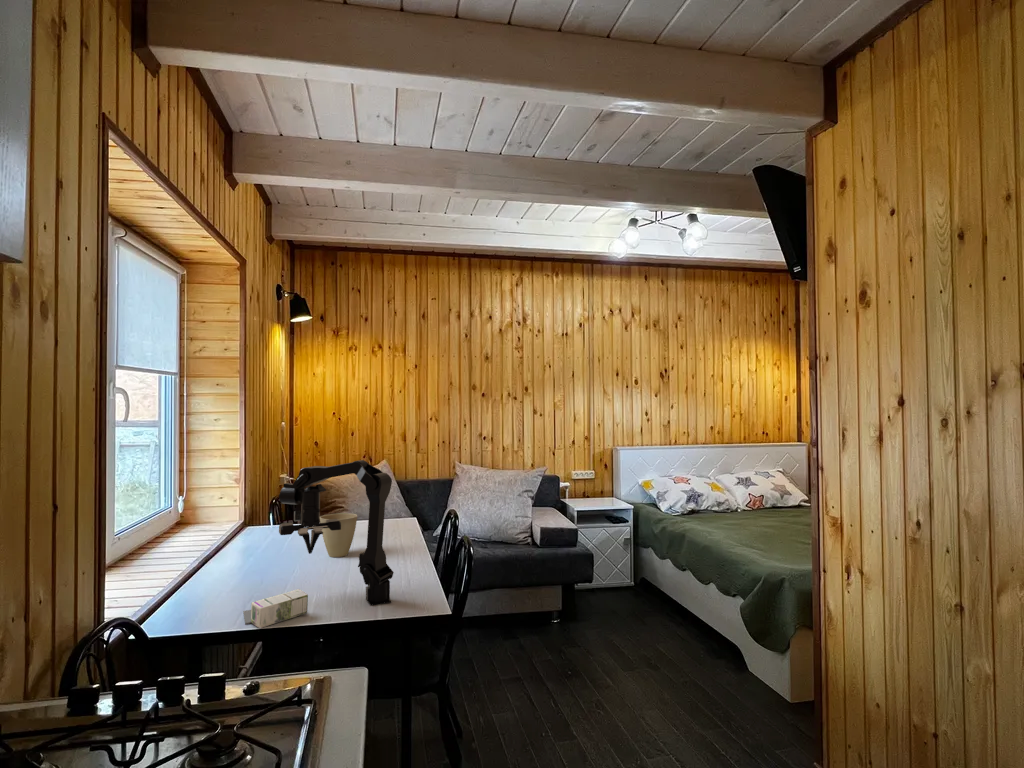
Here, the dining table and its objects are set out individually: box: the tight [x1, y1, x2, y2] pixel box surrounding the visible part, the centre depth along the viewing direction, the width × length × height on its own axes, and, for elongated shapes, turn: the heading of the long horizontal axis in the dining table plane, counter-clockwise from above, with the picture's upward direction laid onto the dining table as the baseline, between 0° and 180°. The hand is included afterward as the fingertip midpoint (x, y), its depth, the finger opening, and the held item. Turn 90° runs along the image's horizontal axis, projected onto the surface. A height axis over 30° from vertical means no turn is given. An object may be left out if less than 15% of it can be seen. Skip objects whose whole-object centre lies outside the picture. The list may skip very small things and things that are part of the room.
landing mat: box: [243, 609, 298, 625], centre depth 171 cm, size 14×11×1 cm
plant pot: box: [320, 512, 358, 558], centre depth 240 cm, size 15×15×16 cm
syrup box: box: [250, 588, 309, 629], centre depth 167 cm, size 6×6×14 cm
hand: (310, 553), depth 190 cm, fingers closed
